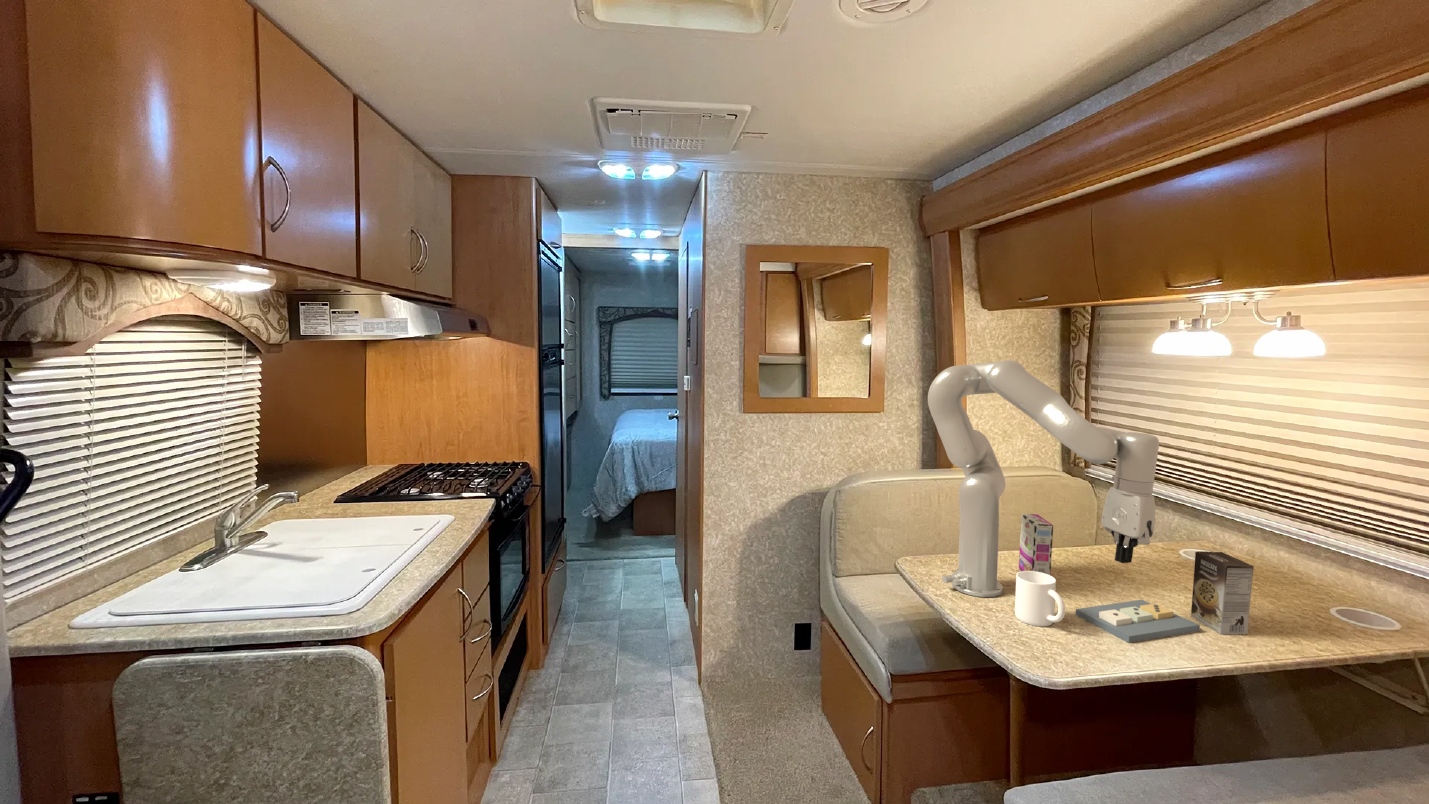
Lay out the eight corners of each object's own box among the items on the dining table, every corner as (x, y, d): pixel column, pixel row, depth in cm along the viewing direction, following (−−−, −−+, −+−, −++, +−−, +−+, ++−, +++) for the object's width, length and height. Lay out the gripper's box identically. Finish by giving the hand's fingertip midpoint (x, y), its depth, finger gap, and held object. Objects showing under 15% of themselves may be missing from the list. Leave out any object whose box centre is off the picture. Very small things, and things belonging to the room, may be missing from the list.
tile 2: (1136, 626, 138) (1137, 616, 137) (1119, 617, 142) (1119, 607, 142) (1152, 623, 139) (1153, 613, 138) (1134, 615, 143) (1135, 605, 143)
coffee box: (1189, 616, 143) (1193, 550, 142) (1216, 616, 143) (1221, 550, 142) (1219, 635, 134) (1225, 565, 133) (1249, 635, 134) (1255, 565, 133)
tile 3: (1157, 623, 139) (1158, 613, 139) (1139, 614, 143) (1140, 605, 143) (1172, 620, 140) (1173, 610, 140) (1154, 612, 144) (1155, 602, 144)
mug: (1076, 631, 137) (1078, 587, 136) (1048, 637, 134) (1050, 592, 133) (1033, 609, 148) (1035, 568, 147) (1006, 614, 145) (1008, 573, 144)
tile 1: (1115, 629, 136) (1116, 619, 136) (1098, 620, 140) (1099, 610, 140) (1131, 627, 137) (1132, 616, 137) (1114, 618, 142) (1114, 608, 141)
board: (1128, 642, 131) (1129, 636, 131) (1075, 615, 145) (1075, 609, 144) (1199, 631, 136) (1199, 624, 136) (1141, 605, 150) (1141, 599, 149)
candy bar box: (1051, 584, 163) (1054, 525, 162) (1031, 583, 164) (1034, 524, 162) (1036, 568, 174) (1038, 513, 173) (1017, 568, 175) (1020, 512, 173)
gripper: (1092, 478, 146) (1083, 550, 148) (1150, 495, 132) (1139, 575, 134) (1117, 477, 148) (1108, 549, 150) (1177, 494, 133) (1165, 573, 136)
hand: (1122, 561), depth 142 cm, fingers closed
